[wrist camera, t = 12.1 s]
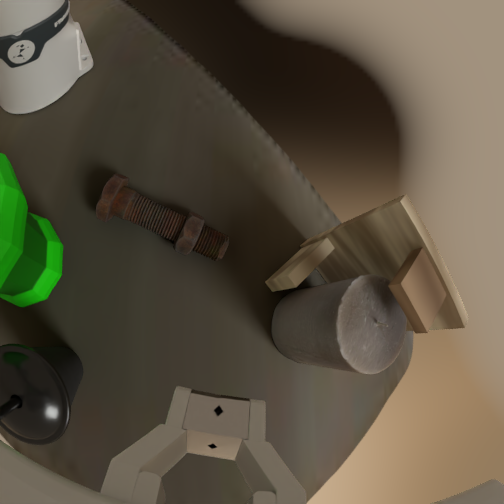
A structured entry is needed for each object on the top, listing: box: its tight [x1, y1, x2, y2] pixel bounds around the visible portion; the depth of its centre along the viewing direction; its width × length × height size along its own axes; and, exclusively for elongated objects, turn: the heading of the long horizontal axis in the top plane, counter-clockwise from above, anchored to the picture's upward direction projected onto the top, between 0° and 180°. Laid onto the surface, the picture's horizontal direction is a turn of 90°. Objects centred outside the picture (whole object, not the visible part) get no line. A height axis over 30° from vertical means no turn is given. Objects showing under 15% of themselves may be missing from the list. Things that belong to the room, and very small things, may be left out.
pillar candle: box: [271, 274, 407, 374], centre depth 31 cm, size 10×10×15 cm
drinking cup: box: [0, 344, 83, 445], centre depth 17 cm, size 8×8×20 cm
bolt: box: [96, 174, 229, 261], centre depth 32 cm, size 6×5×15 cm
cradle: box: [265, 194, 468, 333], centre depth 31 cm, size 9×16×18 cm, turn 41°
